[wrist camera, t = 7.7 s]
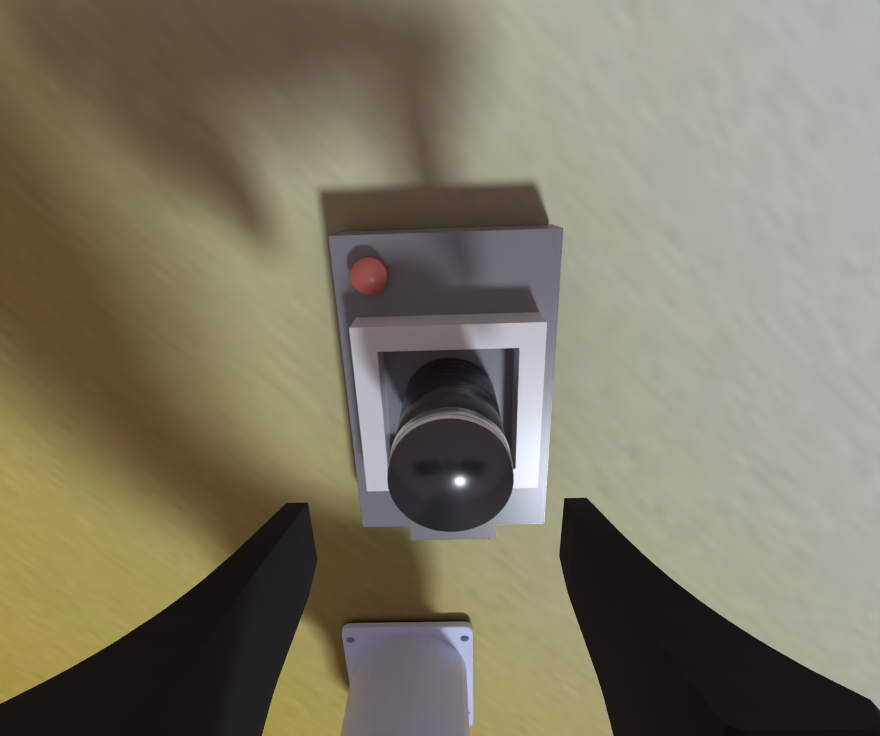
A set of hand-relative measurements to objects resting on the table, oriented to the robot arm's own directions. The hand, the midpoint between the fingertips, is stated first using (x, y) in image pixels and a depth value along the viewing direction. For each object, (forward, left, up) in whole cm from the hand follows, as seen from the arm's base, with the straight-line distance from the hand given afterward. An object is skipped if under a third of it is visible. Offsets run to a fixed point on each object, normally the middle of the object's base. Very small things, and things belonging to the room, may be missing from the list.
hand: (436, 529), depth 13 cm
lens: (0, -1, -8) cm, 8 cm away
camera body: (0, -1, -10) cm, 10 cm away
